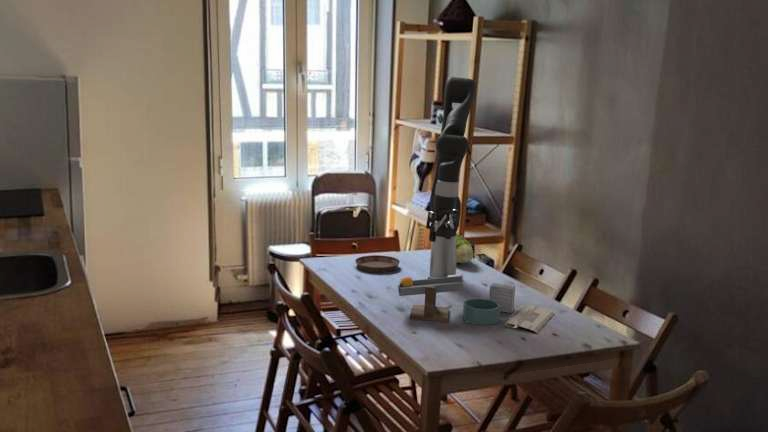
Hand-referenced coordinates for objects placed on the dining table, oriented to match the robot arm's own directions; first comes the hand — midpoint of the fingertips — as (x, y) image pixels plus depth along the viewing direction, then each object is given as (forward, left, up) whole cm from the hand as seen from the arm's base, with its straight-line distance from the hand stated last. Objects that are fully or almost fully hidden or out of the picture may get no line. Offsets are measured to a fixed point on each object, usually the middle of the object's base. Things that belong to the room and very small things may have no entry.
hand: (440, 240), depth 243 cm
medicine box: (-9, +22, -21) cm, 31 cm away
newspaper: (-9, +33, -22) cm, 40 cm away
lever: (+12, +9, -14) cm, 20 cm away
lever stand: (+14, +11, -21) cm, 28 cm away
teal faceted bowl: (+3, +23, -21) cm, 31 cm away
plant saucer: (-7, -40, -21) cm, 46 cm away
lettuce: (-39, -28, -21) cm, 52 cm away
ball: (+20, +5, -11) cm, 23 cm away
